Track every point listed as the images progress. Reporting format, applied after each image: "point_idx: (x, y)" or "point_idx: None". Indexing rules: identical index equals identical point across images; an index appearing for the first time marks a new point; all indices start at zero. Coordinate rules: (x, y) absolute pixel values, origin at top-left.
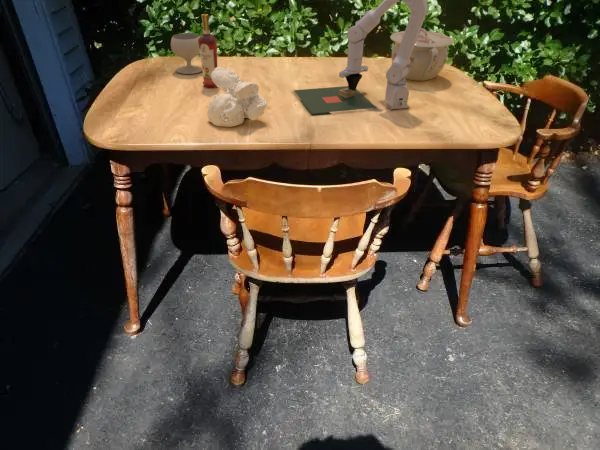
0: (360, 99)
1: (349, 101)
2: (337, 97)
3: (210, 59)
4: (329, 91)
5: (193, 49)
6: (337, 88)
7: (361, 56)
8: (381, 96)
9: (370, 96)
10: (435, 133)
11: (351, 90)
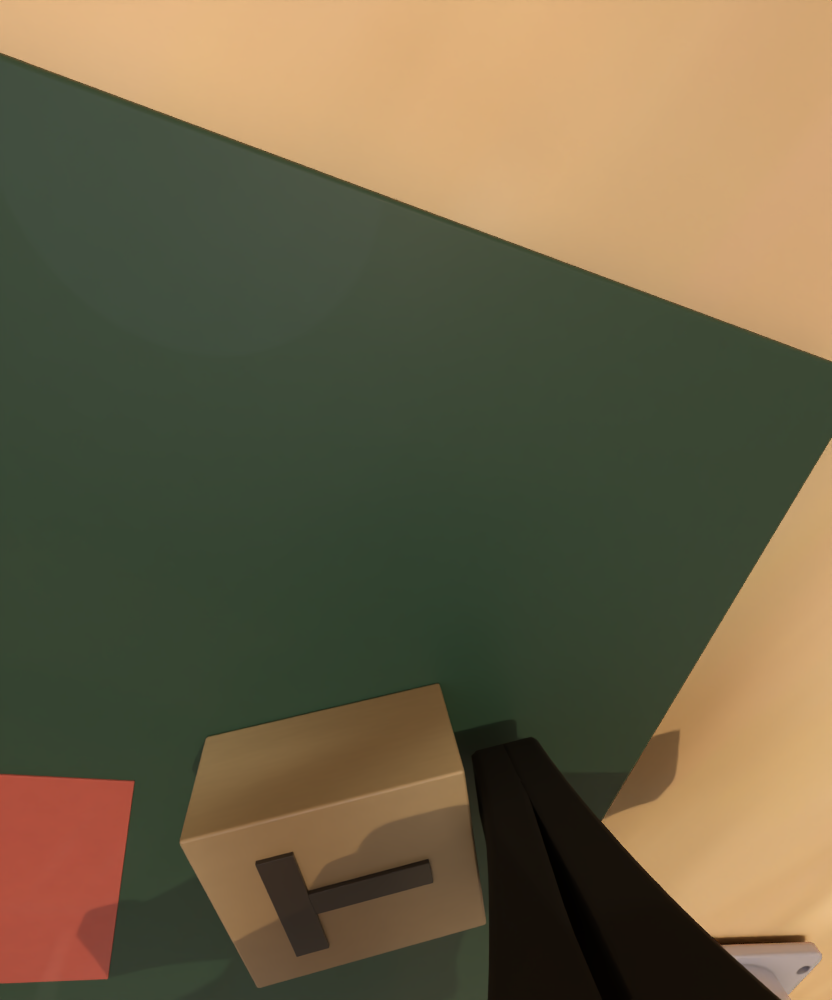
0: (439, 942)
1: (234, 975)
2: (109, 833)
3: None
4: (87, 479)
5: None
6: (435, 374)
7: None
8: (785, 835)
9: (685, 807)
10: None
11: (446, 904)
